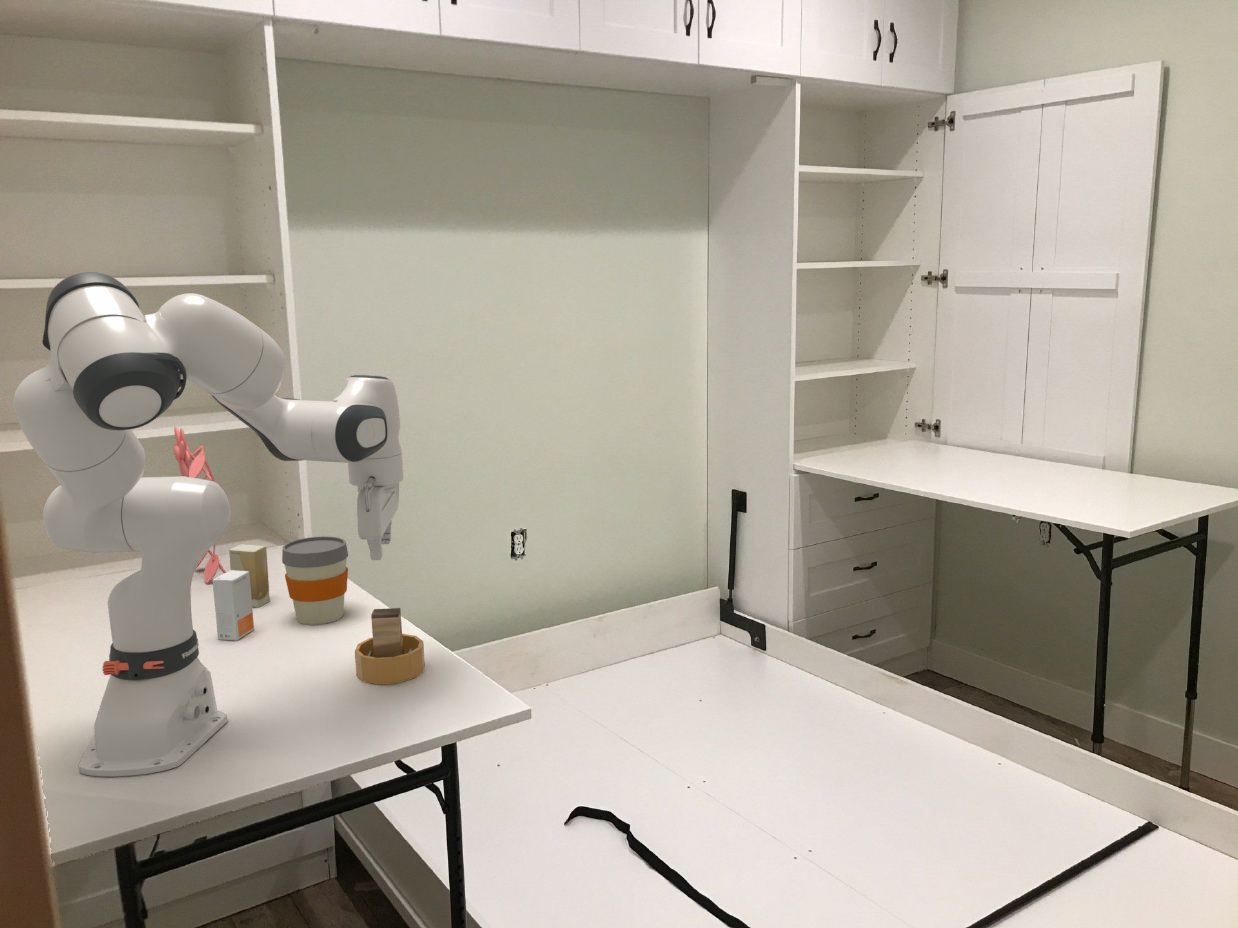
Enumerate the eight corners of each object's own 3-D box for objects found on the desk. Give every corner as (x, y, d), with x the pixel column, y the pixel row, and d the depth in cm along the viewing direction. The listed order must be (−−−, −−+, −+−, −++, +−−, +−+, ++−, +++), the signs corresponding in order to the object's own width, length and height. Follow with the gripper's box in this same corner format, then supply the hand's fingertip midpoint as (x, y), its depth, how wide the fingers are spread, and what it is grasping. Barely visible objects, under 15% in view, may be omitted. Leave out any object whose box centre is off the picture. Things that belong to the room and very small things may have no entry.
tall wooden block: (401, 669, 168) (398, 613, 166) (375, 670, 168) (371, 615, 166) (404, 662, 171) (400, 607, 169) (377, 663, 171) (373, 609, 169)
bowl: (420, 682, 165) (418, 657, 164) (352, 685, 164) (350, 660, 163) (427, 656, 176) (425, 632, 175) (363, 659, 175) (361, 635, 174)
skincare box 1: (232, 605, 204) (226, 549, 201) (245, 598, 208) (239, 543, 206) (259, 607, 202) (254, 551, 200) (271, 600, 206) (266, 545, 204)
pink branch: (219, 558, 237) (201, 416, 229) (240, 587, 215) (221, 431, 208) (150, 571, 229) (128, 423, 222) (165, 602, 208) (141, 440, 200)
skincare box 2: (237, 641, 184) (231, 580, 182) (217, 639, 185) (211, 579, 183) (255, 629, 190) (250, 570, 188) (236, 628, 191) (230, 569, 189)
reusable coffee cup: (329, 601, 205) (324, 532, 202) (365, 614, 197) (360, 543, 194) (275, 618, 196) (268, 546, 193) (310, 632, 188) (303, 557, 185)
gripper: (385, 484, 153) (391, 568, 156) (403, 459, 173) (407, 534, 176) (344, 485, 153) (351, 570, 156) (366, 460, 173) (372, 535, 176)
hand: (381, 551), depth 166 cm, fingers open, 8 cm apart
